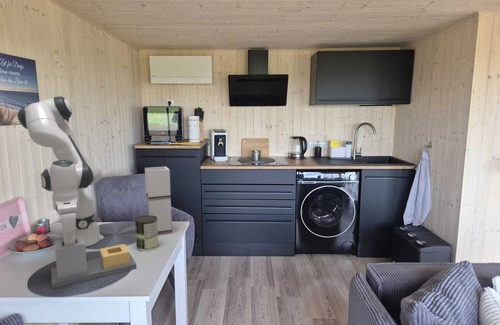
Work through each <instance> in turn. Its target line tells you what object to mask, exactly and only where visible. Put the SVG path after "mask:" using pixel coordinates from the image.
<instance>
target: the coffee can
mask: <svg viewBox="0 0 500 325" xmlns="http://www.w3.org/2000/svg"><path fill="white" fill-rule="evenodd" d="M134 225H135V239H136V240H135V241H136V242H135V244H136V250H140V251H151V250H154V249H156V248H158V247H159V238H158V236H159V235H158V231H157V217H156V216H152V215H149V214H148V215H142V216H137V217H136V218H134Z"/></svg>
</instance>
